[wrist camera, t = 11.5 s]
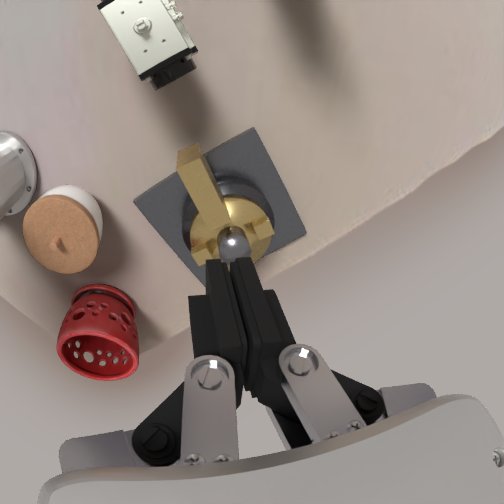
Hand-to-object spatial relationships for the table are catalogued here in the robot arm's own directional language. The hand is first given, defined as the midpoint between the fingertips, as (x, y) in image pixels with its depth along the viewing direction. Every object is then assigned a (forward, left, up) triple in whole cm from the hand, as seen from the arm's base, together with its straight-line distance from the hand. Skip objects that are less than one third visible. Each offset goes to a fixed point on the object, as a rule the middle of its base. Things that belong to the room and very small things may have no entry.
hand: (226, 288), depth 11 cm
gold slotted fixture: (-2, -8, -23) cm, 25 cm away
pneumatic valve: (+2, +13, -28) cm, 31 cm away
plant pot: (-29, -15, -28) cm, 43 cm away
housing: (-3, -12, -28) cm, 30 cm away
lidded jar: (-20, +1, -28) cm, 34 cm away
